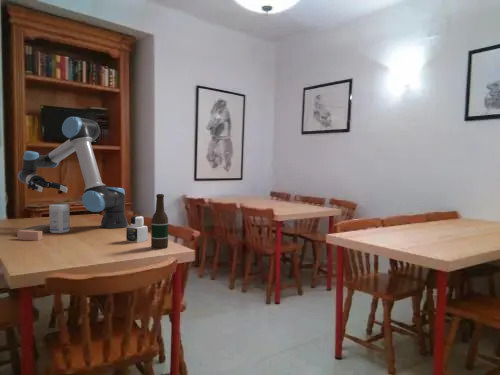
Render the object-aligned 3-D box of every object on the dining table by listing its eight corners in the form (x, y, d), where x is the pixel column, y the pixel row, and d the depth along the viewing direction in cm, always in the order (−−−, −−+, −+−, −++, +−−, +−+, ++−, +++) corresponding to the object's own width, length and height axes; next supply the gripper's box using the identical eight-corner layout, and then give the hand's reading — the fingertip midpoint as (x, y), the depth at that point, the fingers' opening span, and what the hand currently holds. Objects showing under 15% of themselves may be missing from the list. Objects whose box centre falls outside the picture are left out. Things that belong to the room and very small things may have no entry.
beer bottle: (164, 249, 160) (164, 195, 159) (147, 248, 162) (148, 194, 161) (171, 246, 168) (171, 193, 167) (155, 244, 170) (156, 193, 168)
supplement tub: (67, 229, 203) (67, 203, 202) (71, 232, 196) (71, 205, 195) (47, 231, 197) (47, 204, 196) (51, 234, 190) (51, 205, 189)
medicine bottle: (126, 241, 176) (126, 216, 175) (137, 238, 182) (137, 215, 182) (137, 243, 173) (137, 217, 172) (147, 240, 179) (147, 216, 178)
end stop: (42, 239, 176) (42, 231, 176) (37, 240, 174) (37, 232, 173) (22, 238, 178) (22, 229, 178) (17, 239, 175) (17, 231, 175)
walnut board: (55, 229, 203) (55, 224, 203) (26, 236, 182) (26, 230, 182) (46, 229, 204) (46, 223, 204) (16, 235, 183) (16, 229, 183)
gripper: (56, 188, 222) (75, 196, 210) (11, 187, 202) (29, 196, 190) (58, 176, 221) (77, 184, 210) (13, 173, 201) (31, 182, 189)
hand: (54, 190), depth 200 cm, fingers open, 13 cm apart
